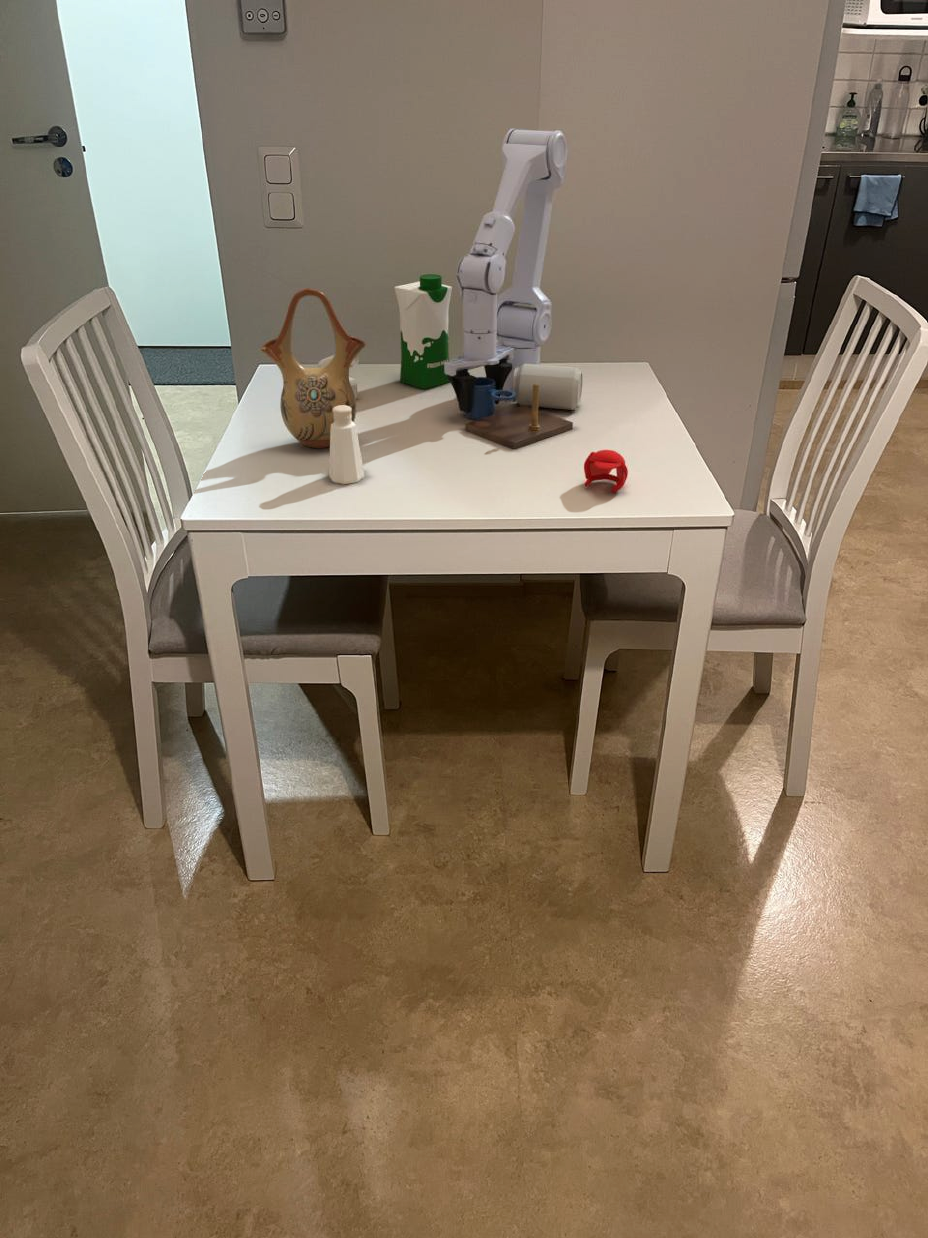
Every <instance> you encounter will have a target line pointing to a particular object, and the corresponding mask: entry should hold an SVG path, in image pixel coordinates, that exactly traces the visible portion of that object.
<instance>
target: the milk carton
mask: <svg viewBox="0 0 928 1238" xmlns="http://www.w3.org/2000/svg"><path fill="white" fill-rule="evenodd" d="M442 281H443V280H442V275H440V274H434V273H433V274H432V273H430V274H429V273H427V274H422V275H420V276H419V281H415V282H411V283H407V284H402V285H397V286H394V291H395V296H396V301H397V305H398V308H399V327H400V331H399V332H400V374H399V375H400V376H399V378H400V379H399V382H400V383H403V384H407V385H409V386H413V387H416V388H419V389H422V390H428V389H430V388H434V387H438V386H440V385H441V386H442V385H444V384H448V383H451V382H450V381H449V379H448V377H447V375H446V374H445V372H444V363H445V362H448V361H450V348H449V347H450V345H449V343H450V342H449V335H450V334H449V308H450V301H451V296H452V291H453V286H450V285H447V284H443V283H442Z"/></svg>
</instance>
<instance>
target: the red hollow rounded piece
mask: <svg viewBox="0 0 928 1238" xmlns="http://www.w3.org/2000/svg"><path fill="white" fill-rule="evenodd" d="M614 469H615V472H616V475H614V474H611V472H612V470H614ZM583 472H584V477H585V479H586V481H585V482H584V484H583V485H584V487H585V488H588V487H589V486H590V484H591V483H593V482H595V481H601V480H602V481H603V480H608V481H612V482H614V483H616V485H614V486H612V488H611V489H610V490H611V492H612V493H616V492H619V491H620V490H621V489H623V487H624V485H625V483H626V482H627V479H628V475H629V469H628V467H627V465H626V460H625V458H624V457H623V456H622V455H621V453H619V452H617V451H616V450H612V449H601V450H597V451H596V452H595V451H591V452H590V453H589V455H588V456H587V458H586V459H585V461H584V464H583Z"/></svg>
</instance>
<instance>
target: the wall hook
mask: <svg viewBox="0 0 928 1238" xmlns="http://www.w3.org/2000/svg"><path fill="white" fill-rule="evenodd" d="M334 355H335V354H333V355H331V356H328V357H325V358H323V359H321V360H319V362H318V363H317V365H316V368H319V367H323V366H325V365H327V364H328V363H329V362H330V361H331V360H332V359H333V357H334ZM359 359H360V358H359V353H358V354H357V356H356V357H355V358H354V360H353V361H352V363H351V366H350V368H353V367H355V366H357V365H358V364H359ZM349 382H350V385H351V387H352V390H353V392H354V395H355V400H356V399H357V398H358V396H359V393H358V381H357V380H356V379H355V378H353V377H350V376H349Z"/></svg>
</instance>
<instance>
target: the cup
mask: <svg viewBox="0 0 928 1238" xmlns="http://www.w3.org/2000/svg"><path fill="white" fill-rule="evenodd" d="M475 377H476V380H475V383H474V386H473V391H472V404H471V412H470V413H465V412H463V413H464V415H465V417H466V418H467V419H471V420H478V419H481V418H484V417H488V416H491V415H494V414H496V404H495V400H496V401H499V402H510V401H513V400H514V399H516V393H515V392H513V391H510V390H509V391H508V390H496V389H495V381H494V380H493V379H490V378H486V376H485V377H484V376H475ZM499 394H501V395H507V394H508V396H500V397H499V396H496V395H499ZM510 395H511V396H510Z"/></svg>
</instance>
